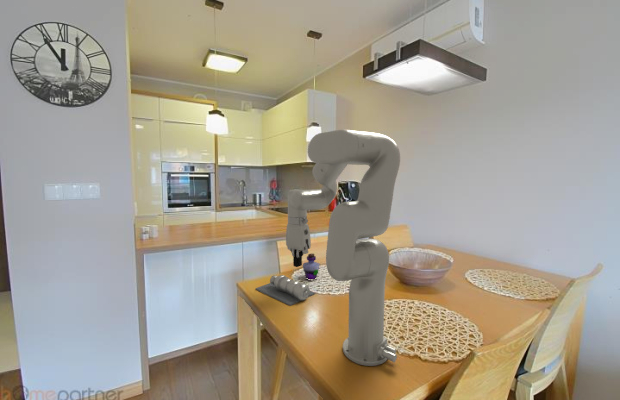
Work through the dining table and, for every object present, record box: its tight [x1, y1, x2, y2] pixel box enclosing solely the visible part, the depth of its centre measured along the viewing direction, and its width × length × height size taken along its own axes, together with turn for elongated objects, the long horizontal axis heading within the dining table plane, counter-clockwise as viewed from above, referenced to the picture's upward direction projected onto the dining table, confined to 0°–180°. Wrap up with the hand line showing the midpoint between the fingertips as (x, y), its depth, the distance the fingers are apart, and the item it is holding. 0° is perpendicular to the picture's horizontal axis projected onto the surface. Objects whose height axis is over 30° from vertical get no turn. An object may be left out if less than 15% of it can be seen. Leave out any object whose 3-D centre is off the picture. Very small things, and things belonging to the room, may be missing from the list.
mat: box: [255, 282, 316, 307], centre depth 114 cm, size 22×14×1 cm, turn 47°
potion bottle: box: [302, 253, 321, 279], centre depth 129 cm, size 9×9×12 cm
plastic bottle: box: [269, 274, 311, 302], centre depth 111 cm, size 6×7×20 cm
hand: (297, 265), depth 107 cm, fingers closed
